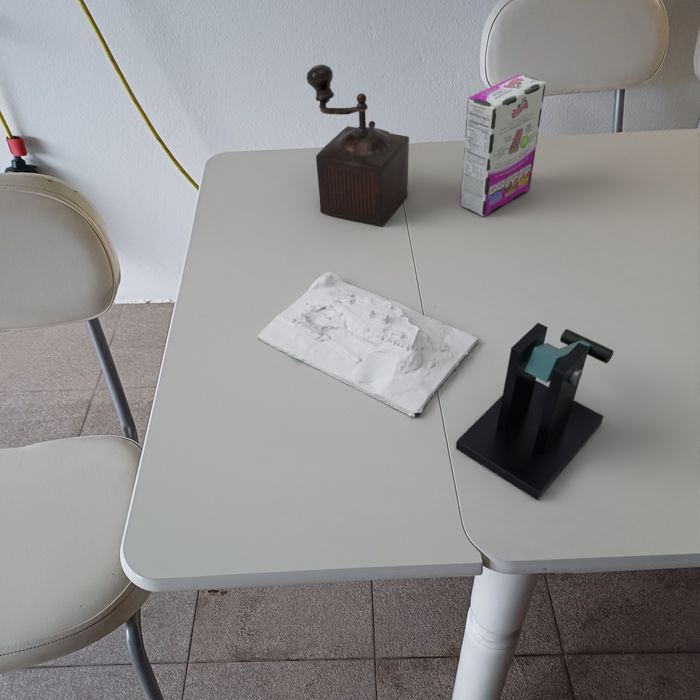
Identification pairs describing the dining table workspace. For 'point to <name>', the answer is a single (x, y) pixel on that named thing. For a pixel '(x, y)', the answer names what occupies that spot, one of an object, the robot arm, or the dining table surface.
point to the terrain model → (369, 342)
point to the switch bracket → (533, 421)
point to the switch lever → (562, 354)
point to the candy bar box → (500, 143)
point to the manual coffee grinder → (359, 163)
